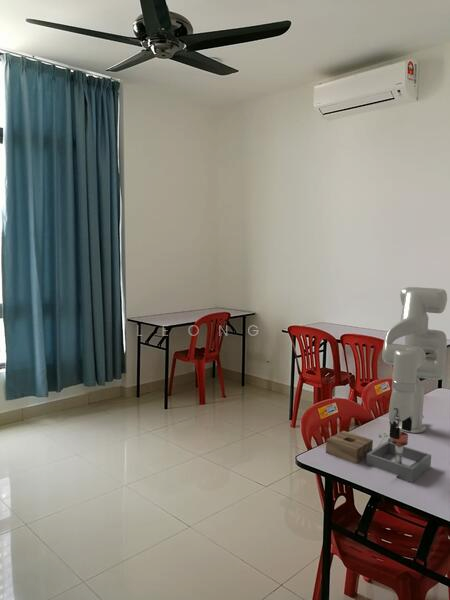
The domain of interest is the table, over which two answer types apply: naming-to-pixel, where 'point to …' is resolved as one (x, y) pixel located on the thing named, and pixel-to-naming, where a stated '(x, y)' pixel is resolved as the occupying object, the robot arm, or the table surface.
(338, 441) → the eye block
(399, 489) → the table surface
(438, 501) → the table surface
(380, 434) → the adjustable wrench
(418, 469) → the tray
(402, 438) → the red knob with stem
